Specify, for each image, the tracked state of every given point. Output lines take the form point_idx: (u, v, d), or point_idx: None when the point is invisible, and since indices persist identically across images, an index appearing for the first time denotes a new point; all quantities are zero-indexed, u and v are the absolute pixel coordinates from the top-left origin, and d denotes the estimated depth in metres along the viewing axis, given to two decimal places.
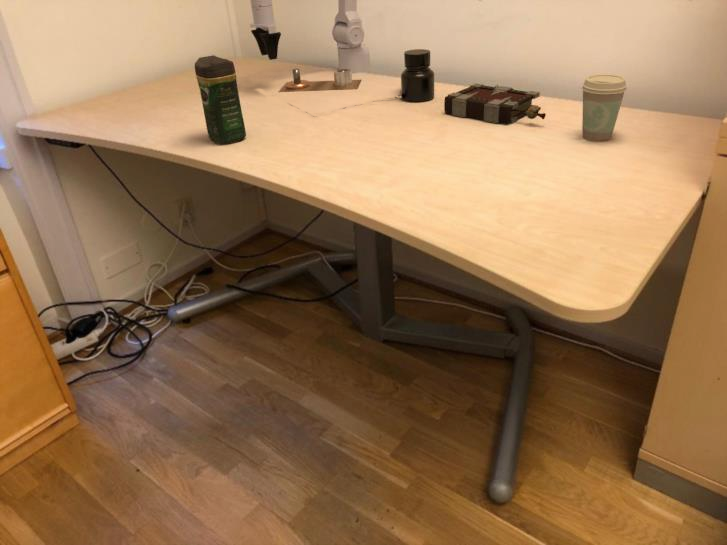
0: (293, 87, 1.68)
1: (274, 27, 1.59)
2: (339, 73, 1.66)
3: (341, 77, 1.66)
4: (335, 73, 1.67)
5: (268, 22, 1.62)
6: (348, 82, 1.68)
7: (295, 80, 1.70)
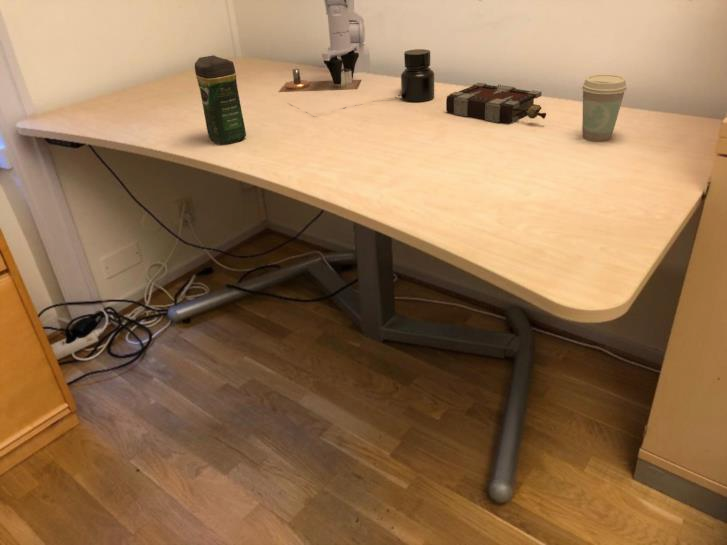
0: (293, 87, 1.68)
1: (326, 55, 1.60)
2: None
3: (341, 77, 1.66)
4: None
5: (335, 49, 1.62)
6: (348, 82, 1.68)
7: (295, 80, 1.70)
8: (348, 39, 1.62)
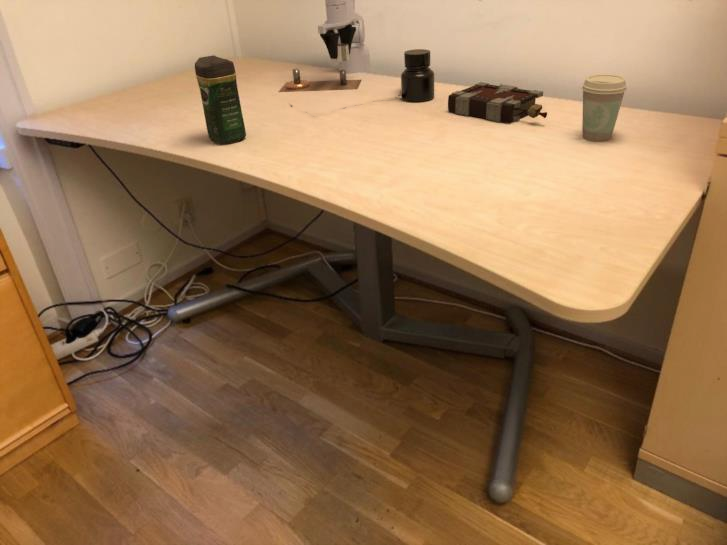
0: (293, 87, 1.68)
1: (322, 28, 1.56)
2: None
3: (338, 51, 1.63)
4: None
5: (332, 22, 1.59)
6: (345, 57, 1.64)
7: (295, 80, 1.70)
8: (345, 12, 1.58)
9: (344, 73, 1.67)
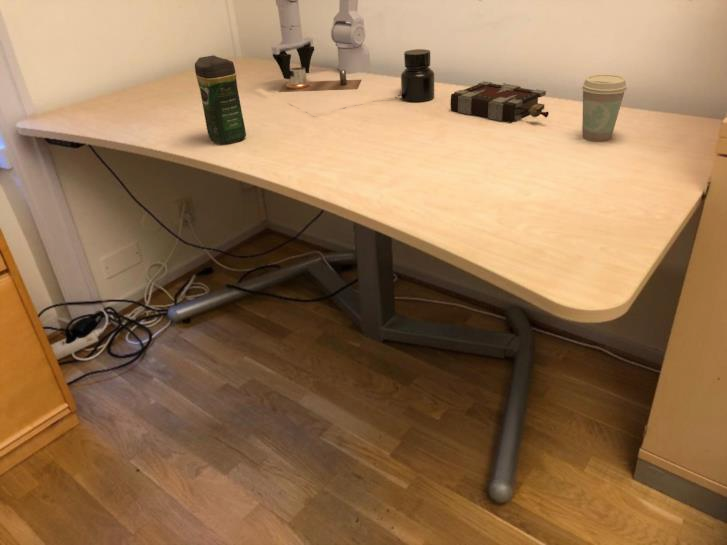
0: (293, 87, 1.68)
1: (275, 49, 1.60)
2: (293, 71, 1.67)
3: (295, 75, 1.67)
4: None
5: (286, 42, 1.63)
6: (302, 80, 1.69)
7: None
8: (299, 33, 1.62)
9: (344, 73, 1.67)
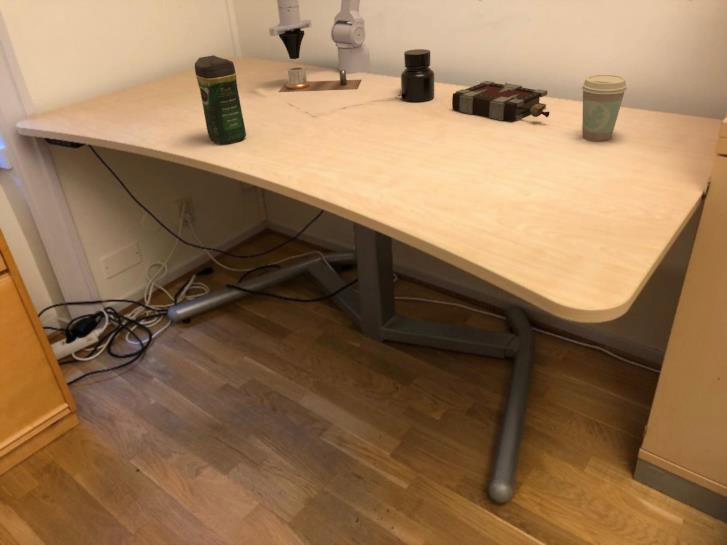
0: (293, 87, 1.68)
1: (273, 30, 1.58)
2: (293, 71, 1.67)
3: (295, 75, 1.67)
4: (289, 71, 1.68)
5: (284, 24, 1.60)
6: (302, 80, 1.69)
7: None
8: (297, 14, 1.60)
9: (344, 73, 1.67)
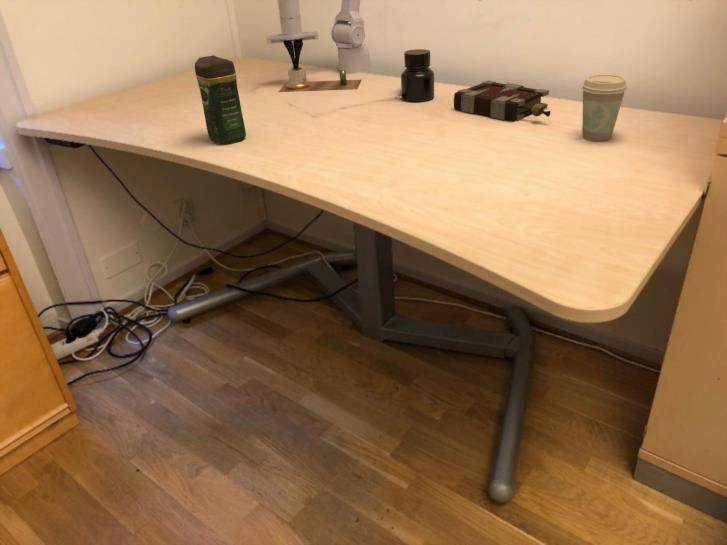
0: (293, 87, 1.68)
1: None
2: (293, 71, 1.67)
3: (295, 75, 1.67)
4: (289, 71, 1.68)
5: (282, 34, 1.65)
6: (302, 80, 1.69)
7: None
8: (292, 26, 1.62)
9: (344, 73, 1.67)
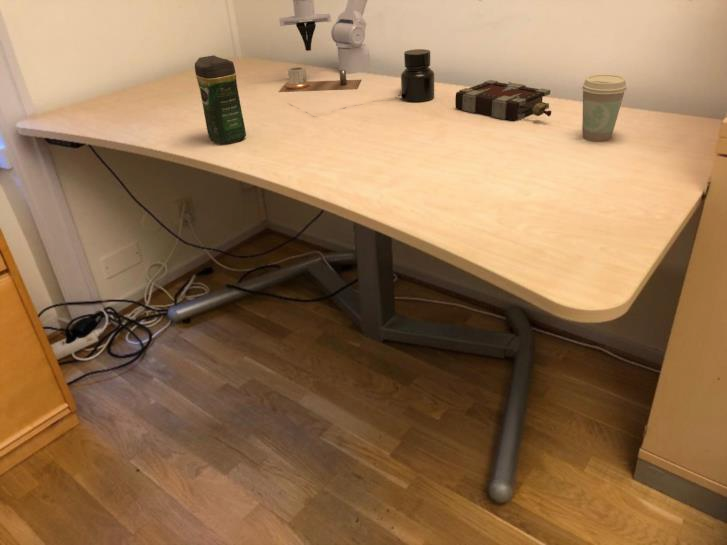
0: (293, 87, 1.68)
1: None
2: (293, 71, 1.67)
3: (295, 75, 1.67)
4: (289, 71, 1.68)
5: (295, 16, 1.66)
6: (302, 80, 1.69)
7: None
8: (305, 8, 1.63)
9: (344, 73, 1.67)
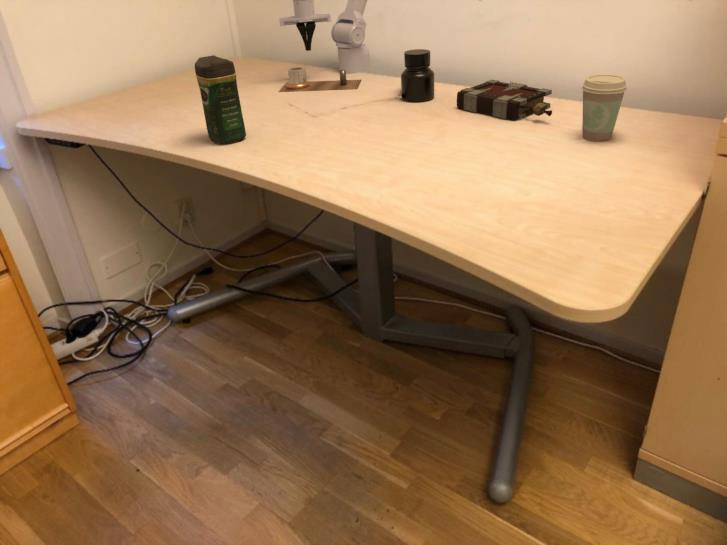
0: (293, 87, 1.68)
1: None
2: (293, 71, 1.67)
3: (295, 75, 1.67)
4: (289, 71, 1.68)
5: (295, 16, 1.66)
6: (302, 80, 1.69)
7: None
8: (305, 8, 1.63)
9: (344, 73, 1.67)
